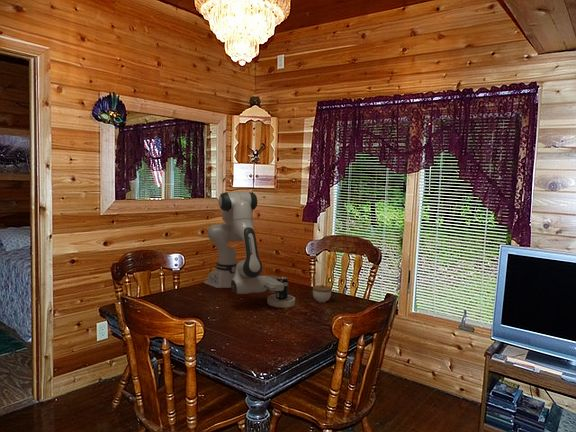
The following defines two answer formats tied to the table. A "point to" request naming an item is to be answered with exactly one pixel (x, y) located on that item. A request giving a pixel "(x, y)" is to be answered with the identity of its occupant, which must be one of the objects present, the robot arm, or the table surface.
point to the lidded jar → (322, 293)
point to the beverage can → (284, 293)
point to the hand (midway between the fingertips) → (283, 282)
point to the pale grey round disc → (281, 301)
